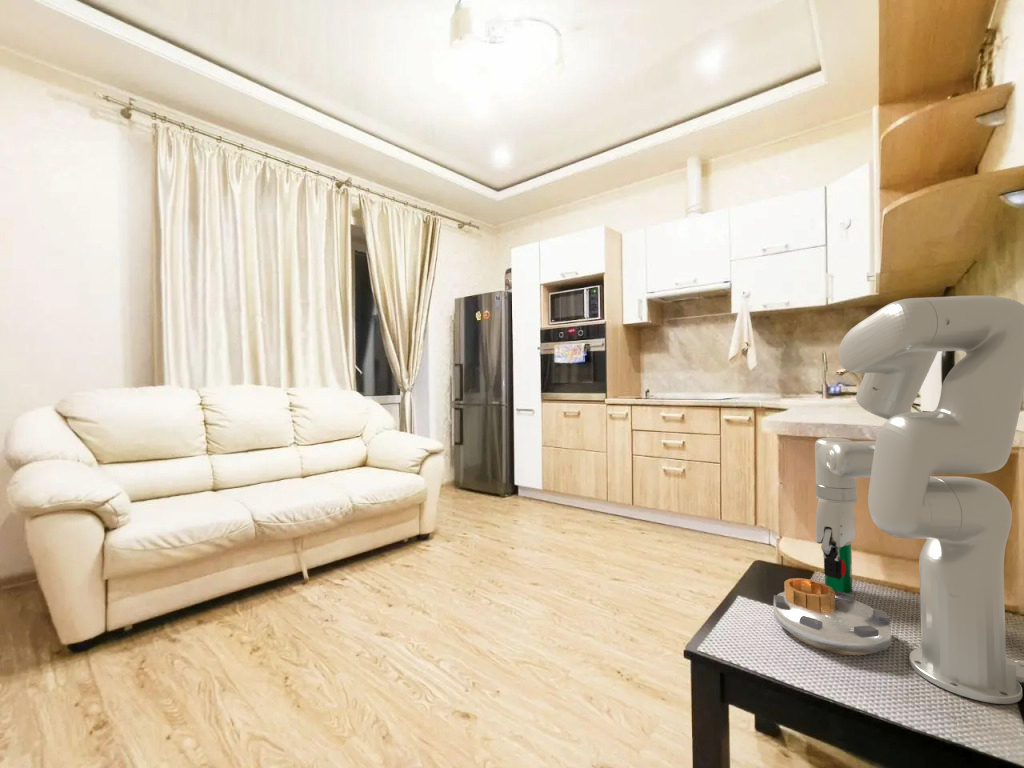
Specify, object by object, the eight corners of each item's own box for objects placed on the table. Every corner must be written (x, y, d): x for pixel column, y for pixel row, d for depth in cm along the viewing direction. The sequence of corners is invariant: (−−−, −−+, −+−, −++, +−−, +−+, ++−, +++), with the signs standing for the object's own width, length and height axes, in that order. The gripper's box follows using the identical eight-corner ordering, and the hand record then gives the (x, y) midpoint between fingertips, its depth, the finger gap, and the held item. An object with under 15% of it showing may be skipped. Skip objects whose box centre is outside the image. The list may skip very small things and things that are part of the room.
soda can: (857, 596, 99) (856, 541, 99) (832, 595, 100) (831, 540, 100) (844, 586, 104) (843, 533, 104) (820, 585, 105) (819, 533, 105)
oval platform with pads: (872, 611, 90) (871, 585, 90) (908, 662, 73) (907, 631, 73) (768, 596, 97) (768, 572, 97) (780, 639, 81) (779, 611, 81)
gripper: (831, 485, 110) (833, 559, 110) (801, 496, 100) (803, 578, 100) (869, 490, 104) (871, 569, 104) (841, 502, 94) (843, 590, 94)
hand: (838, 572), depth 102 cm, fingers closed on soda can, 5 cm apart
